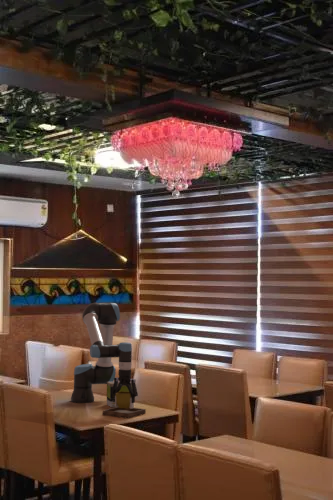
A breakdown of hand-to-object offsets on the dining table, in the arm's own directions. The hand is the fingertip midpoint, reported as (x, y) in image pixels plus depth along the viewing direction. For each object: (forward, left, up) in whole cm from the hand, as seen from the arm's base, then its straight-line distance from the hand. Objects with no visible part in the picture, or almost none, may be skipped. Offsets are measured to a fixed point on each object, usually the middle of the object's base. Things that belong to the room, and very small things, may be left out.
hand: (124, 407), depth 391 cm
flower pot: (0, 0, 0) cm, 0 cm away
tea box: (-19, +22, -4) cm, 29 cm away
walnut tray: (0, 0, -4) cm, 4 cm away
